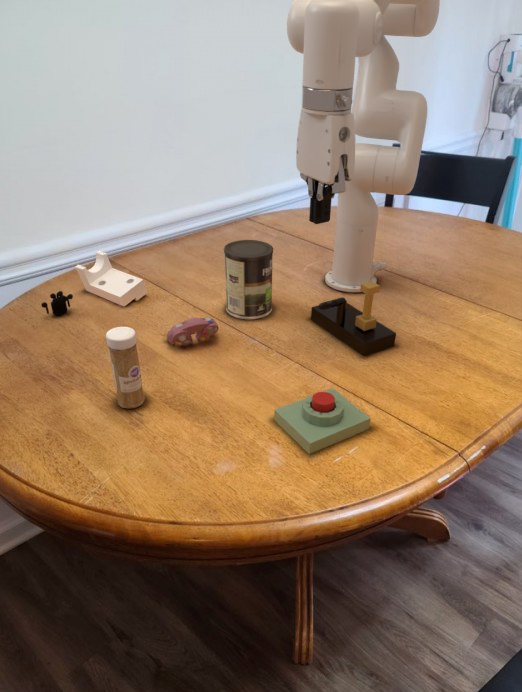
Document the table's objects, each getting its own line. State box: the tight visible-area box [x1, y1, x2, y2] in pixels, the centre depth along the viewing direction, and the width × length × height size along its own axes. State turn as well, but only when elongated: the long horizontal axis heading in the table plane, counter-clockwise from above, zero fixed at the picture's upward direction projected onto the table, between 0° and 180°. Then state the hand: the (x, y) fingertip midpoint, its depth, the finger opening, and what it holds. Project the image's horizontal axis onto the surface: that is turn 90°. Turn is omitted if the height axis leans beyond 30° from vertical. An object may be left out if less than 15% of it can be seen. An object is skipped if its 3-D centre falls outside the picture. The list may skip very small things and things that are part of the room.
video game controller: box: [166, 316, 219, 346], centre depth 111 cm, size 10×5×7 cm, turn 118°
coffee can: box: [223, 239, 274, 320], centre depth 121 cm, size 10×10×14 cm
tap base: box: [310, 296, 397, 357], centre depth 115 cm, size 13×18×9 cm
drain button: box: [312, 391, 335, 413], centre depth 90 cm, size 4×4×2 cm
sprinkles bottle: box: [105, 326, 146, 410], centre depth 92 cm, size 5×5×14 cm
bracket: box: [75, 249, 149, 307], centre depth 128 cm, size 13×7×8 cm, turn 54°
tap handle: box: [355, 281, 381, 331], centre depth 111 cm, size 3×3×9 cm
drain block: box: [273, 388, 372, 455], centre depth 91 cm, size 12×10×4 cm
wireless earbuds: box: [41, 290, 74, 316], centre depth 120 cm, size 7×2×5 cm, turn 136°
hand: (319, 221), depth 95 cm, fingers closed
